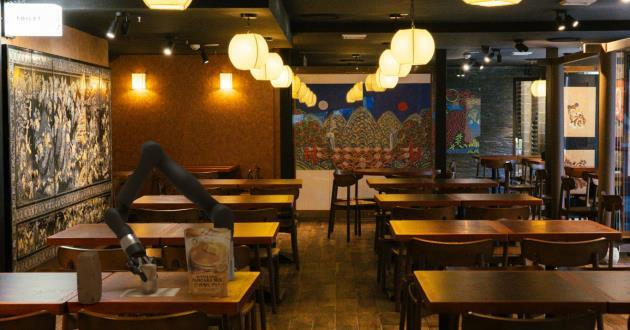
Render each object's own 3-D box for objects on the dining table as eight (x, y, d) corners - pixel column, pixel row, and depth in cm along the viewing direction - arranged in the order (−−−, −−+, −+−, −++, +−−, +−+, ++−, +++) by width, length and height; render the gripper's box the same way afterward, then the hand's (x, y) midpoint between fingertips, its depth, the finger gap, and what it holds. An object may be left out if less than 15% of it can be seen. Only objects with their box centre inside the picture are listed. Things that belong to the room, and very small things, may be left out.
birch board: (180, 291, 318) (180, 288, 318) (174, 299, 304) (173, 296, 304) (128, 292, 318) (128, 288, 318) (119, 300, 304) (119, 296, 304)
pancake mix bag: (187, 294, 313) (185, 226, 311) (233, 294, 312) (231, 226, 310) (183, 298, 307) (181, 229, 305) (230, 298, 305) (228, 229, 303)
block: (93, 305, 297) (92, 254, 296) (75, 305, 298) (73, 254, 297) (105, 298, 308) (103, 249, 306) (87, 298, 309) (85, 249, 307)
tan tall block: (150, 289, 313) (149, 263, 313) (156, 291, 311) (156, 264, 310) (140, 291, 310) (140, 265, 309) (147, 293, 307) (147, 266, 306)
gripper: (121, 244, 309) (140, 277, 302) (150, 239, 319) (169, 271, 312) (114, 255, 312) (132, 288, 305) (142, 250, 323) (161, 282, 316)
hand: (151, 279), depth 309 cm, fingers closed on tan tall block, 4 cm apart
